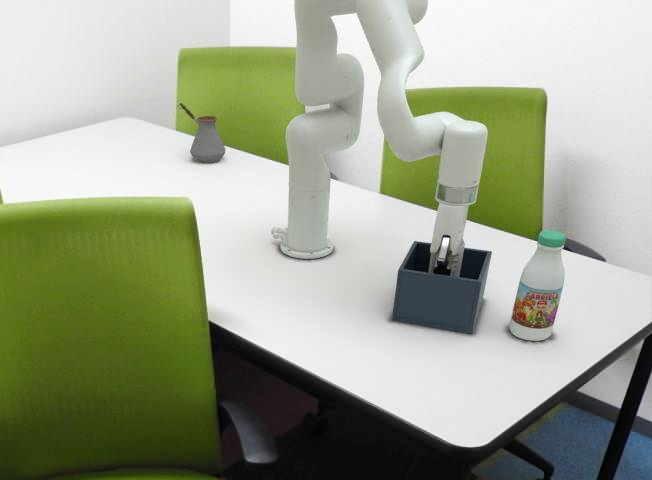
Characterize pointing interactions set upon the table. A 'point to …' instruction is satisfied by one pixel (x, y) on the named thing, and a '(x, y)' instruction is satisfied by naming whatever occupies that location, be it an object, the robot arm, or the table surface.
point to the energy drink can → (455, 260)
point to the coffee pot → (206, 139)
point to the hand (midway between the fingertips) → (442, 279)
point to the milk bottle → (540, 289)
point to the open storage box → (440, 290)
